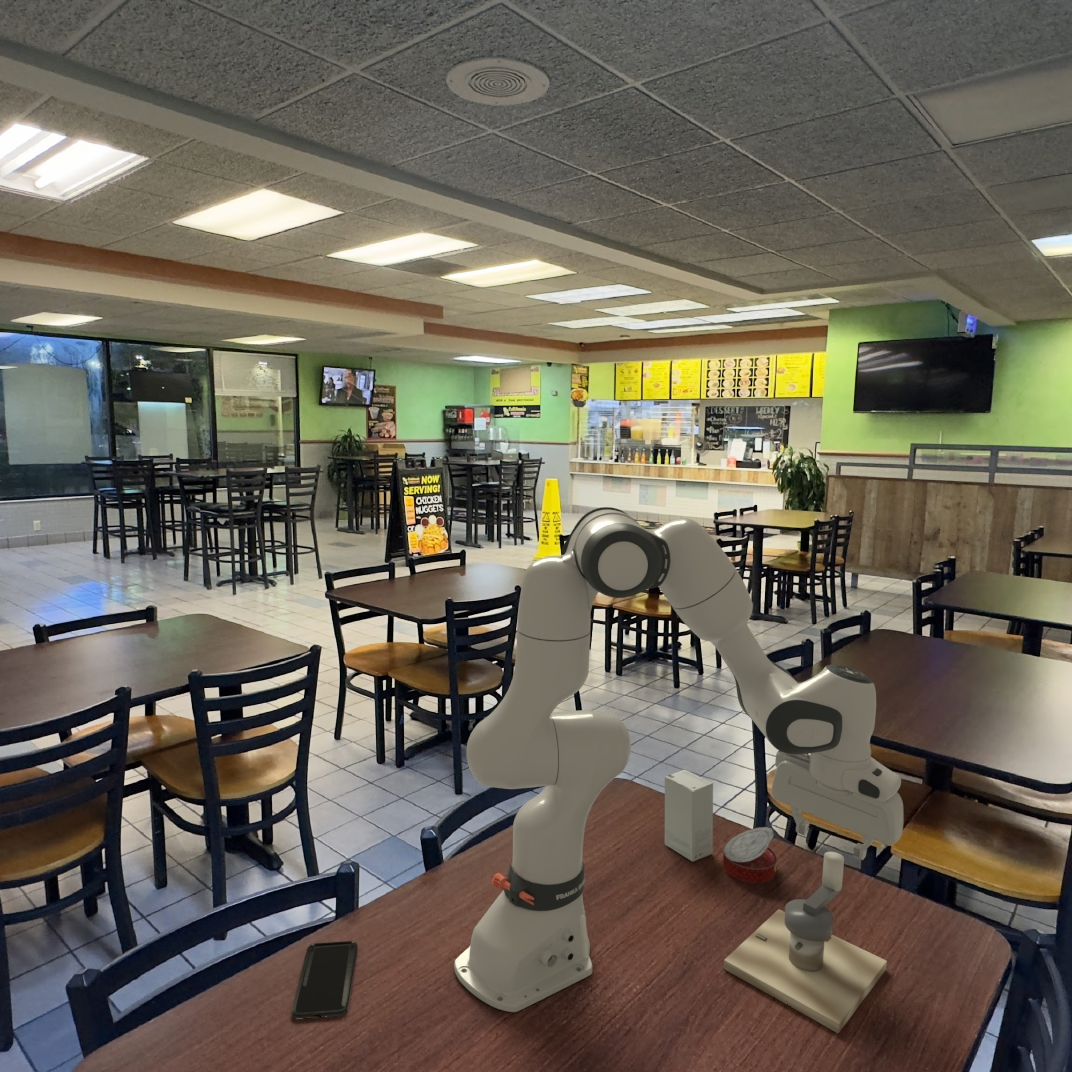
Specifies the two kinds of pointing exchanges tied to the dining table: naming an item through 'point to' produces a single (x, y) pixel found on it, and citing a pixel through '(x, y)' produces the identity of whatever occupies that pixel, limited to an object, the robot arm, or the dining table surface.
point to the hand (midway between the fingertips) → (829, 844)
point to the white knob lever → (817, 904)
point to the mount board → (807, 971)
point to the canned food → (751, 856)
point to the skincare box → (689, 815)
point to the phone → (325, 980)
